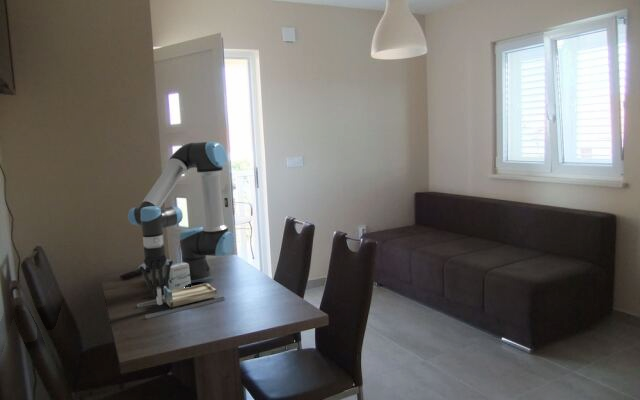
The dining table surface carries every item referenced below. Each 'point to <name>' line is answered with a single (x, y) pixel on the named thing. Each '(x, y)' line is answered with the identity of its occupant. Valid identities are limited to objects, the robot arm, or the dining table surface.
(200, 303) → the track
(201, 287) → the wooden tray
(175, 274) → the ink box
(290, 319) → the dining table surface
